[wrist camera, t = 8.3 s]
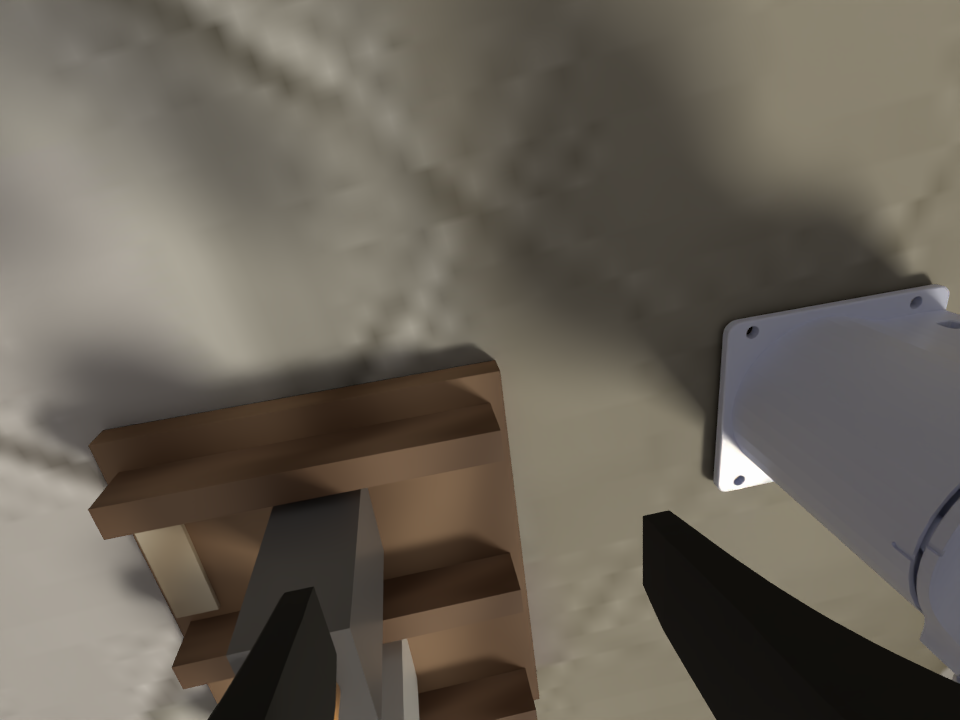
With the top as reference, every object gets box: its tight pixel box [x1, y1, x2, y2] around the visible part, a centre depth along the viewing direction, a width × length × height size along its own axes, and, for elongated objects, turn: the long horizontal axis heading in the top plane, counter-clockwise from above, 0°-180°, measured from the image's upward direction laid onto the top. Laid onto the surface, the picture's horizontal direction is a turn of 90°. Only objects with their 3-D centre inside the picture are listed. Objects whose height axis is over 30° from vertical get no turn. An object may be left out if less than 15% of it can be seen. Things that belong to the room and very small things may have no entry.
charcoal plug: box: [226, 488, 384, 720], centre depth 16 cm, size 3×4×8 cm
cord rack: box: [88, 360, 539, 720], centre depth 21 cm, size 14×18×3 cm
